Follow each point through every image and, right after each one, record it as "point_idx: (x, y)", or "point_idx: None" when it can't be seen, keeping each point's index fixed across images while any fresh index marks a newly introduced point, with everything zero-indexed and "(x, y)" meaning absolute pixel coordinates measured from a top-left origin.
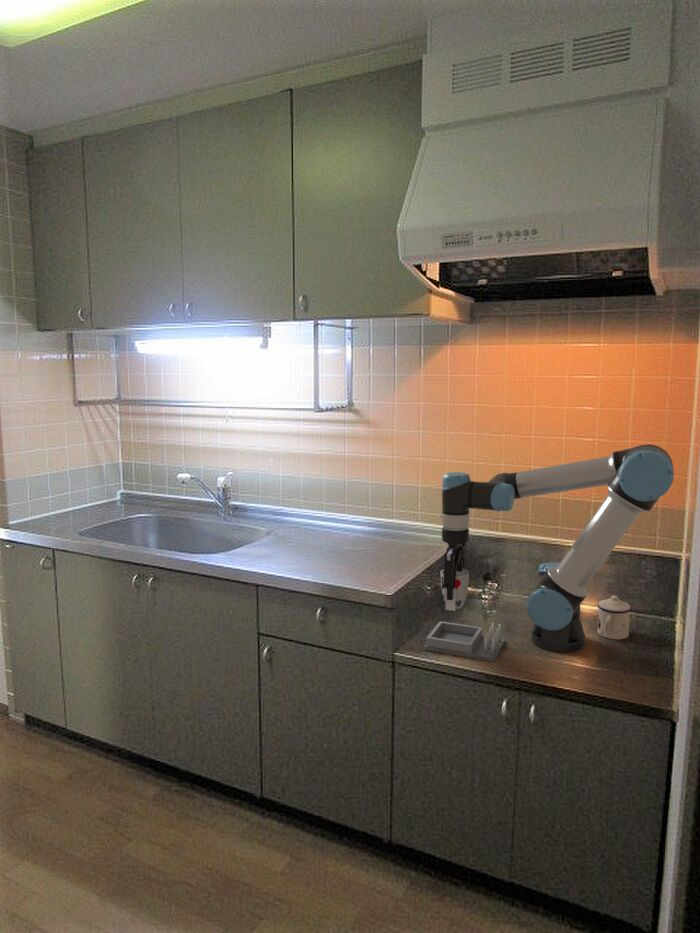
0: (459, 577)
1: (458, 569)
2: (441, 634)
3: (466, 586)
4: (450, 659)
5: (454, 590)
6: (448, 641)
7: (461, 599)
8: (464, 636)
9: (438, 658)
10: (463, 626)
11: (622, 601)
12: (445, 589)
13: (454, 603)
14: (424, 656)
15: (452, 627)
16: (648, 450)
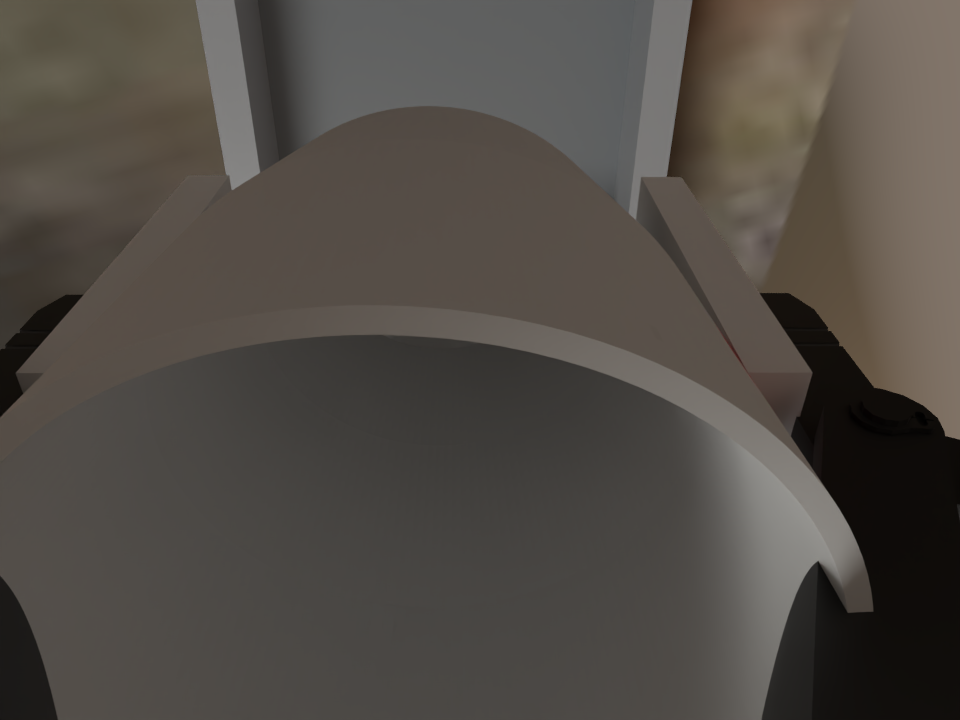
0: (823, 496)
1: (13, 676)
2: None
3: (516, 171)
4: (769, 32)
5: (791, 360)
6: (673, 116)
7: (572, 161)
8: (316, 29)
9: (768, 135)
10: (246, 74)
11: None
12: (658, 509)
13: (709, 232)
14: (753, 244)
15: None
16: None
